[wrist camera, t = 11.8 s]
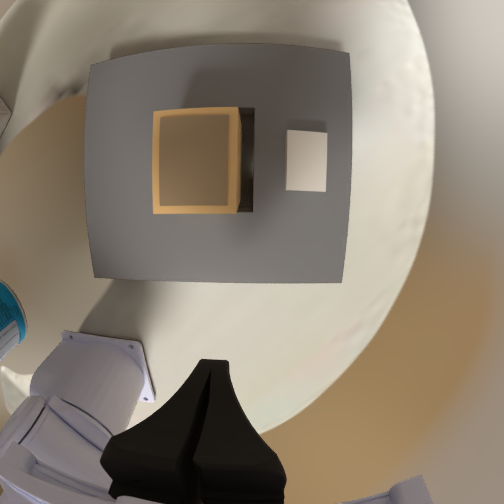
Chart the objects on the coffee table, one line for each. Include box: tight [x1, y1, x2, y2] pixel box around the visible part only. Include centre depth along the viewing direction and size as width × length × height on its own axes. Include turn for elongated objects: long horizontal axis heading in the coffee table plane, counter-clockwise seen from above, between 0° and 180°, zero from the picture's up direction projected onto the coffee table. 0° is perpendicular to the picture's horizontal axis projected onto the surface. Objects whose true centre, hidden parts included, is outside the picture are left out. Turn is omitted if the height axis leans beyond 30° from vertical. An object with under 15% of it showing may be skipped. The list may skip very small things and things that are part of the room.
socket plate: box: [84, 43, 352, 283], centre depth 17 cm, size 18×16×3 cm
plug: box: [152, 107, 242, 214], centre depth 15 cm, size 4×5×7 cm
